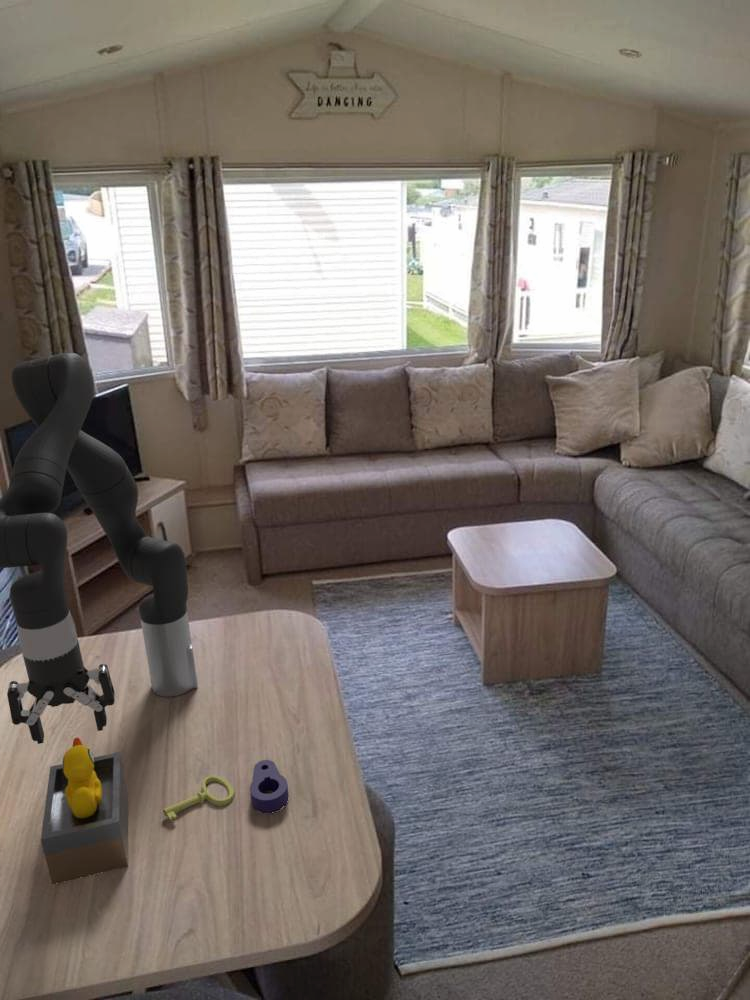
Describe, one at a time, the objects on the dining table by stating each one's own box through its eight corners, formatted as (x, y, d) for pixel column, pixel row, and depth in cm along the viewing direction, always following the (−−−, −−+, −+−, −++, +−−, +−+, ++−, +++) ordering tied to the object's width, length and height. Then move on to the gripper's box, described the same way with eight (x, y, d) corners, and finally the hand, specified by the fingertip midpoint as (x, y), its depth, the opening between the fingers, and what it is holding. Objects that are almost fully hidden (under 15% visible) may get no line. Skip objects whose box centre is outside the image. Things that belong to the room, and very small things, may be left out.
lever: (291, 810, 128) (290, 795, 127) (253, 818, 127) (251, 803, 126) (281, 762, 139) (280, 748, 138) (246, 769, 138) (244, 755, 137)
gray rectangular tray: (128, 793, 133) (119, 751, 129) (128, 866, 118) (119, 821, 115) (60, 809, 130) (50, 766, 126) (52, 885, 116) (40, 839, 112)
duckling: (68, 784, 126) (56, 735, 122) (102, 775, 128) (92, 726, 124) (68, 834, 116) (56, 782, 112) (105, 823, 118) (95, 772, 114)
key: (160, 820, 127) (159, 810, 127) (214, 776, 137) (213, 766, 136) (191, 839, 124) (189, 829, 123) (244, 792, 133) (243, 782, 132)
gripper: (102, 621, 115) (120, 708, 121) (-1, 639, 111) (23, 728, 118) (101, 647, 108) (119, 739, 115) (-8, 667, 105) (17, 761, 111)
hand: (71, 733), depth 116 cm, fingers open, 8 cm apart
